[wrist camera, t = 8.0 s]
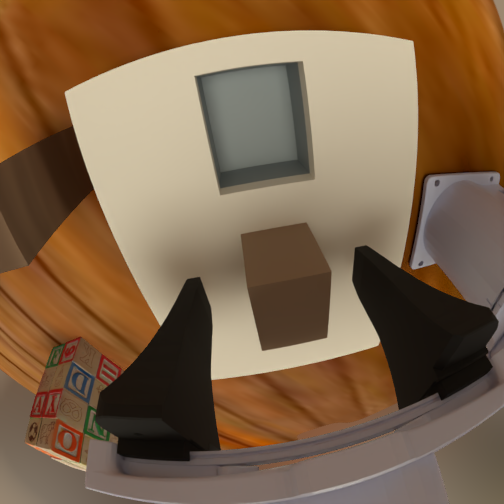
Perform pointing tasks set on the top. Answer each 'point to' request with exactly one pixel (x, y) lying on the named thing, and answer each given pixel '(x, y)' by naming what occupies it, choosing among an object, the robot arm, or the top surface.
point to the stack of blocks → (70, 403)
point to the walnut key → (39, 195)
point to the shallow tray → (255, 123)
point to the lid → (258, 191)
